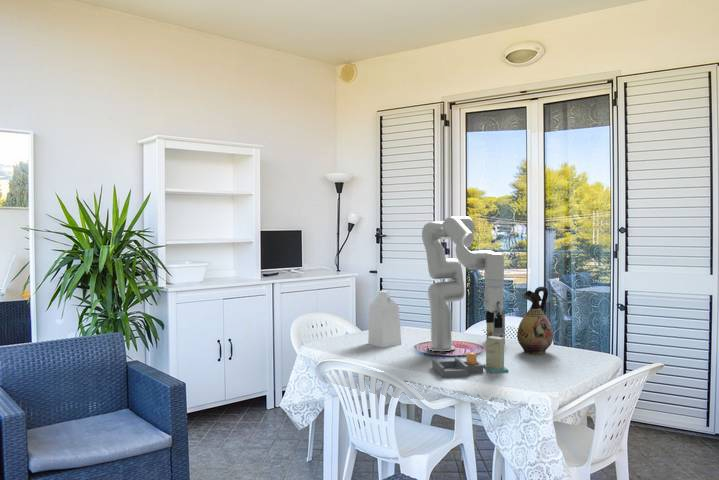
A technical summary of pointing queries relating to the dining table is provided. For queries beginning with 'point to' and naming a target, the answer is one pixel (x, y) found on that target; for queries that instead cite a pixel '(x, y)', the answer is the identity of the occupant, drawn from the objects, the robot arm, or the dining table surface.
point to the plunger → (471, 358)
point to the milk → (384, 321)
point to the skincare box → (495, 352)
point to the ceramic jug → (535, 325)
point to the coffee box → (496, 331)
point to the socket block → (459, 364)
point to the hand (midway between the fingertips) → (494, 325)
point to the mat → (494, 370)
